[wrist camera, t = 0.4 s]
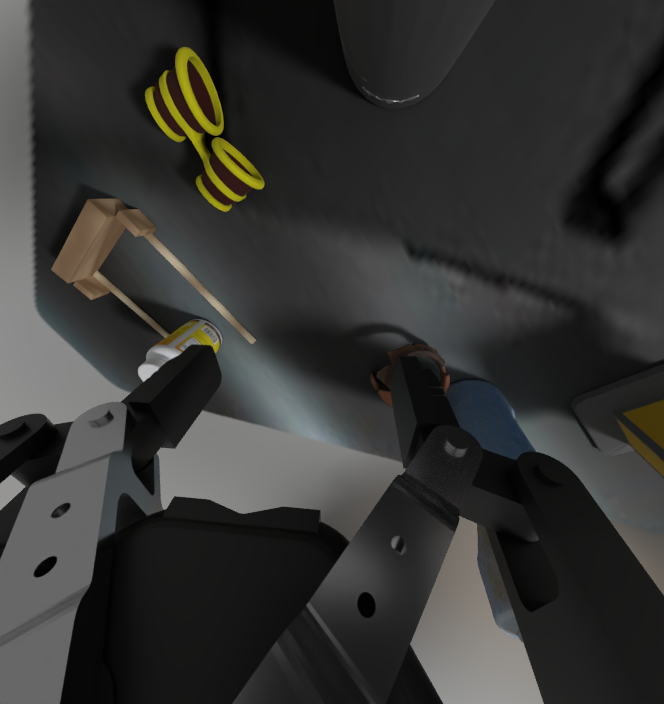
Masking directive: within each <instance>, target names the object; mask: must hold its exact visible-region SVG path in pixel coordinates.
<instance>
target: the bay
mask: <svg viewBox="0 0 664 704" xmlns="http://www.w3.org/2000/svg"><path fill="white" fill-rule="evenodd" d="M126 228H127V229H128V230H129V231H130V232H131V233H132V234H133V235H134V236H135V237H137V236H144V237H145V238H146V239H147V240H148V241H149V242H150V243H151V244H152V245H153V246H154V247H155V248H156V249H157V250H158V251H159V252H160V253H161V254H162V255H163V256H164V257H165V258H166V259H167V260H168V261H169V262H170V263H171V264H172V265H173V266H174V267H175V268H176V269H177V270H178V271H179V272H180V273H181V274H182V275H183V276H184V277H185V278H186V279H187V280H188V281H189V282H190V283H191V284H192V285H193V286H194V287H195V288H196V289H197V290H198V291H199V292H200V293H201V294H202V295H203V296H204V297H205V298H206V299H207V300H208V301H209V302H210V303H211V304H212V305H213V306H214V307H215V308H216V309H217V310H218V311H219V312H220V313H221V314H222V315H223V316H224V317H225V318H226V319H227V320H228V321H229V322H230V323H231V324H232V325H233V326H234V327H235V328H236V329H237V330H238V331H239V332H240V333H241V334H242V335H243V336H244V337H245V338H246V339H247V340H248V341H249V342H250V343H251V344H253V343H254V342H255V341H256V339H255V338H254V337H253V336H252V335H251V334H250V333H249V332H248V331H247V330H246V329H245V328H244V327H243V326H242V325H241V324H240V323H239V322H238V321H237V320H236V319H235V318H234V317H233V316H232V315H231V314H230V313H229V312H228V311H227V310H226V308H225V307H224V306H223V305H222V304H221V303H220V302H219V301H218V300H217V299H216V298H215V297H214V296H213V295H212V294H211V293H210V292H209V291H208V290H207V289H206V288H205V287H204V286H203V285H202V284H201V283H200V282H199V281H198V280H197V279H196V278H195V277H194V276H193V275H192V274H191V273H190V272H189V271H188V269H187V268H186V267H185V266H184V265H183V264H182V263H181V262H180V261H179V260H178V259H177V258H176V257H175V256H174V255H173V254H172V253H171V252H170V251H169V250H168V249H167V248H166V247H165V246H164V245H163V244H162V243H161V242H160V241H159V240H158V239H157V238H156V237H155V236H154V235H153V233H154V231H155V230H156V227H155V226H154V225H153V224H152V223H151V222H150V221H149V220H148V218H147V217H146V216H145V215H144V214H143V213H142V212H141V211H140V210H139V209H130V210H129V209H128V208H127V207H126V206H125V205H124V204H123V203H122V202H121V201H120V200H119V199H118V198H117V199H88V200H87V202H86V204H85V206H84V208H83V210H82V211H81V213H80V215H79V217H78V219H77V221H76V223H75V225H74V227H73V229H72V231H71V233H70V235H69V236H68V238H67V240H66V242H65V244H64V246H63V248H62V250H61V252H60V254H59V256H58V258H57V260H56V261H55V263H54V265H53V267H52V269H51V270H52V271H53V272H55V273H56V274H57V275H58V276H60V277H61V278H62V279H63V280H64V281H66V282H67V283H70V282H74V281H76V282H75V283H74V286H75V287H76V288H77V289H79V290H80V291H81V292H82V293H83V294H85V295H86V296H87V297H88V298H89V299H91V300H93V299H95V298H98V297H100V296H103V295H106V294H108V293H109V292H110V291H111V292H112V293H114V294H115V295H116V296H117V297H118V298H119V299H120V300H122V301H123V302H124V303H125V304H126V305H127V306H129V307H130V308H131V309H132V310H133V311H134V312H136V313H137V314H138V315H139V316H140V317H141V318H143V319H144V320H145V321H146V322H147V323H148V324H150V325H151V326H152V327H153V328H154V329H155V330H156V331H158V332H159V333H160V334H161V335H162V336H163V337H165V338H166V337H168V336H169V335H170V334H169V333H168V332H167V331H165V330H164V329H163V328H162V327H161V326H160V325H159V324H157V323H156V322H155V321H154V320H153V319H152V318H151V317H149V316H148V315H147V314H146V313H145V312H144V311H143V310H141V309H140V308H139V307H138V306H137V305H136V304H135V303H133V302H132V301H131V300H130V299H129V298H128V297H127V296H126V295H124V294H123V293H122V292H121V291H120V290H119V289H118V288H116V287H115V286H114V285H113V284H112V283H111V282H110V281H108V280H107V279H106V278H105V277H104V276H103V275H102V274H100V273H99V272H98V270H99V268H100V266H101V265H102V263H103V262H104V260H105V259H106V257H107V256H108V254H109V253H110V251H111V250H112V248H113V247H114V245H115V244H116V242H117V241H118V239H119V238H120V236H121V235H122V233H123V232H124V230H125V229H126Z"/></svg>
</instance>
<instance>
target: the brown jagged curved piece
mask: <svg viewBox="0 0 664 704" xmlns="http://www.w3.org/2000/svg"><path fill="white" fill-rule="evenodd" d="M387 354H388V356H389V358H390V360H391V363H392V365H391V366H386V367H384V368H383V369H382V370H379V371H378V372H377V379H379V380H381V381H382V383H383V384H385V385H386V386H387V387H388V388H389V389H390V390H387V389H384V388H382V387H380V386H379V385H378V383H377V382H376V380H375V377H374V375H373V373H371V374H370V376H371V382H372V384H373V386H374V388H375V389H376V391H377V394H378V395H379V397H380V398H381V399H382V400H383V401H384V402H386V403H387V404H389V405H390V406H392V407H393V405H392V399H391V384H392V378H393V373H394V368H395V362H396V358H397V356H398V355H403V356H416V357H427V358H430V359H432V360H433V361H434V362H435V363H436V364H437V365H438V366H439V368H440V371H441V382H440V383H441V385H442V389H443V390H444V392H445V394H446V393H447V390H448V388H449V384H450V375H449V374H447V373H446V371H445V365H444V364H445V361H444V359H443V358H441V356H440V355H439V354H438V352H437V350H435V349H434V348H432V347H430V346H427V345H424V344H418V343H414V344H413V345H410V344H408V345H405V346H403V347H402V348H400V349H397V350H394V351H389V352H387Z"/></svg>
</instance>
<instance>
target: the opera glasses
mask: <svg viewBox="0 0 664 704" xmlns="http://www.w3.org/2000/svg"><path fill="white" fill-rule="evenodd" d="M145 98H146V102H147V105H148V108H149V110H150V112H151V114H152V116H153V118H154V119H155V121H156V122H157V124H158V125H159V127H160V128H161V129H162V130H163V131H164V132H165V134H167V135H168V136H169V137H170V138H171V139H173V140H174V141H176V142H181V141H183V140H185V139H186V137H187V138H190V140H191V141H192V143H193V144H194V146H195V148H196V149H197V151H198V153H199V154H200V156H201V158H202V161H203V163H204V167H205V169H203V170H202V174H201V175H199V176H198V177H197V179H196V185H197V187H198V189H199V191H200V192H201V193H202V195H203V196H204V197H205V198H206V199H207V200H208V201H209V202H210V203H211V204H212V205H213V206H215V207H216V208H218V209H219V210H221V211H225V212H226V211H229V210H230V209H231V207H232V205H234V204H235V203H236V201H237V202H239V201H241V200H243V199H244V198H245V197H246V194H247V193H249V192H250V191H252V190H253V189H262V188H263V187H264V180H263V178H262V177H261V175H260V174H259V172H258V171H257V170H256V169H255V167H254V166H253V165H252V164H251V163H250V162H249V161H248V160H247V159H246V158H245V157H244V156H243V155H242V154H241V153H240V152H239V151H238V150H237V149H236V148H234V147H233V146H232V145H231V144H229V143H228V142H227V141H225V140H224V139H222V138H219V137H216V138H214V139H213V140H212V148H213V152H212V154H211V153H210V152H209V151H208V149H207V147H206V145H205V142H204V137H205V133H206V132H208V133H209V134H211V135H214V136H217V135H220V134H221V133H222V131H223V126H224V120H223V113H222V108H221V104H220V101H219V98H218V95H217V92H216V89H215V87H214V84H213V82H212V79H211V77H210V75H209V73H208V71H207V70H206V68H205V66H204V64H203V63H202V61H201V60H200V58H199V57H198V56H197V55H196V53H195V52H194V51H192V50H191V49H190V48H187V47H182V48H180V49H179V50H178V52H177V53H176V58H175V66H174V67H173V69H172V70H171V71H169V70H166V71H165V72H164V73H163V74H162V76H161V77H160V79H159V82H157V83H156V84H155V87H154V86H152V87H149V88H148V89H147V90H146V91H145ZM213 107H214V108H213Z"/></svg>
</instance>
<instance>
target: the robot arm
mask: <svg viewBox="0 0 664 704" xmlns="http://www.w3.org/2000/svg"><path fill="white" fill-rule="evenodd" d="M494 1H495V0H333V2H334V7H335V12H336V17H337V23H338V28H339V33H340V38H341V43H342V48H343V53H344V58H345V62H346V65H347V68H348V71H349V74H350V76H351V78H352V80H353V82H354V84H355V85H356V87H357V89H358V90H359V91H360V92H361V93H362V95H363V96H364V97H365V98H366V99H367V100H369V101H370V102H372V103H373V104H375V105H376V106H380V107H383V108H386V109H401V108H405V107H408V106H412V105H413V104H415V103H417V102H419V101H421V100H423V99H424V98H425V97H426V96H428V95H429V94H430V93H431V92H432V91H433V90H435V89H436V87H437V86H438V85H439V84H440V83H441V81H442V80H443V79H444V78H445V77H446V75H447V74H448V72H449V71H450V69H451V68H452V66H453V65H454V63H455V61H456V60H457V58H458V57H459V55H460V54H461V52H462V51H463V49H464V48H465V46H466V45H467V43H468V42H469V40H470V39H471V37H472V35H473V34H474V32H475V31H476V29H477V28H478V26H479V25H480V23H481V21H482V20H483V18H484V17H485V15H486V14H487V12H488V11H489V9H490V7H491V6H492V4H493V3H494ZM220 383H221V371H220V368H219V365H218V361H217V358H216V355H215V352H214V349H213V347H212V346H211V345H199V344H192V345H190V346H189V347H187V348H186V349H185V350H184V351H183V352H182V353H181V354H180V355H178V356H176V357H174V358H172V359H170V360H169V361H167V362H166V363H165V364H163V365H162V366H161V367H160V368H159V369H158V371H155V372H154V373H153V374H152V375H151V377H150V378H147V379H146V380H145V381H144V382H143V383H142V384H141V385H140V386H138V387H137V388H136V389H135V390H134V391H133V392H132V393H130V394H129V395H128V396H127V397H126V398H125V399H124V400H123V401H121V402H111V403H105V404H102V405H99V406H97V407H94V408H92V409H90V410H88V411H86V412H85V413H83V414H82V415H80V416H79V417H78V418H77V419H76V420H75V421H73V422H67V423H61V424H55V425H53V424H52V423H51V422H50V421H49V420H48V418H47V417H46V416H45V415H42V414H29V415H25V416H21V417H18V418H15V419H12V420H10V421H8V422H6V423H4V424H1V425H0V483H1V482H2V481H3V480H5V479H6V478H7V477H8V476H9V475H12V476H13V477H15V478H16V479H17V480H18V481H20V482H21V483H22V484H23V485H25V486H26V487H25V488H24V489H23V490H22V491H21V492H20V493H19V494H18V495H17V496H15V497H14V498H13V499H12V500H11V501H10V502H9V503H8V504H7V505H6V506H5V507H4V508H3V509H2V510H0V704H443V703H442V701H441V699H440V697H439V696H438V694H437V692H436V690H435V688H434V686H433V685H432V683H431V681H430V679H429V678H428V676H427V674H426V672H425V671H424V669H423V667H422V665H421V663H420V661H419V660H418V658H417V656H416V655H415V653H414V651H413V649H412V647H411V645H410V642H411V640H412V638H413V635H414V633H415V630H416V628H417V625H418V623H419V620H420V618H421V615H422V613H423V610H424V608H425V605H426V603H427V600H428V598H429V595H430V593H431V590H432V588H433V586H434V583H435V581H436V578H437V575H438V573H439V571H440V568H441V566H442V563H443V561H444V558H445V556H446V553H447V551H448V548H449V546H450V543H451V541H452V539H453V536H454V534H455V531H456V528H457V526H458V523H459V516H461V517H463V518H466V519H468V520H471V521H473V522H475V523H477V524H480V525H482V526H484V527H485V529H486V532H487V535H488V538H489V541H490V544H491V547H492V550H493V553H494V556H495V559H496V562H497V565H498V568H499V571H500V574H501V577H502V580H503V583H504V585H505V588H506V591H507V594H508V597H509V600H510V603H511V606H512V609H513V612H514V615H515V618H516V621H517V624H518V627H519V630H520V633H521V636H522V639H523V642H524V645H525V648H526V651H527V654H528V657H529V660H530V663H531V666H532V669H533V672H534V675H535V678H536V681H537V684H538V687H539V690H540V693H541V696H542V699H543V702H544V704H664V595H663V594H662V593H661V591H660V590H659V588H658V587H657V586H656V584H655V583H654V582H653V580H652V579H651V578H650V576H649V575H648V573H647V572H646V571H645V569H644V568H643V566H642V565H641V564H640V563H639V561H638V559H637V558H636V557H635V555H634V554H633V553H632V551H631V550H630V548H629V547H628V546H627V544H626V543H625V542H624V540H623V539H622V537H621V536H620V535H619V533H618V532H617V531H616V529H615V528H614V526H613V525H612V524H611V522H610V521H609V519H608V518H607V517H606V515H605V514H604V512H603V511H602V510H601V508H600V507H599V506H598V504H597V503H596V501H595V500H594V499H593V497H592V496H591V495H590V493H589V492H588V490H587V489H586V488H585V486H584V485H583V483H582V482H581V481H580V479H579V478H578V477H577V476H576V475H575V474H574V473H573V472H572V471H571V470H570V469H569V468H568V467H567V466H565V465H564V464H563V463H561V462H560V461H558V460H556V459H554V458H552V457H550V456H548V455H545V454H542V453H539V452H524V453H522V454H521V455H520V456H519V457H518V458H517V460H515V459H512V458H509V457H506V456H502V455H499V454H496V453H493V452H491V451H488V450H486V449H483V448H482V447H481V445H480V444H479V442H478V441H477V440H476V438H475V437H474V436H472V435H471V434H470V433H469V432H467V431H465V430H464V429H462V428H461V427H460V425H459V423H458V421H457V419H456V416H455V414H454V412H453V410H452V407H451V405H450V403H449V401H448V399H447V397H446V394H445V392H444V390H443V389H442V385H441V383H440V381H439V379H438V377H437V376H436V375H435V374H434V373H433V372H432V371H431V370H430V369H421V366H420V364H419V361H418V358H417V357H416V356H403V355H398V356H397V358H396V362H395V368H394V373H393V378H392V384H391V399H392V405H393V410H394V416H395V422H396V428H397V433H398V439H399V445H400V451H401V456H402V462H403V468H407V469H406V471H405V472H404V473H403V474H402V475H398V476H397V477H396V478H395V479H394V480H393V482H392V483H391V484H390V486H389V487H388V489H387V490H386V492H385V493H384V495H383V496H382V497H381V499H380V500H379V502H378V503H377V504H376V506H375V507H374V509H373V510H372V512H371V513H370V515H369V516H368V518H367V519H366V520H365V522H364V523H363V525H362V526H361V527H360V529H359V530H358V532H357V533H356V535H355V536H354V538H353V539H352V541H351V542H349V541H348V540H347V539H346V538H345V537H344V536H343V535H342V534H341V533H339V532H338V531H337V530H335V529H334V528H332V527H331V526H329V525H327V524H325V523H322V522H321V516H320V510H313V509H312V510H311V509H302V508H291V507H279V508H274V509H269V510H263V511H258V512H252V513H247V514H240V513H237V512H235V511H233V510H231V509H228V508H226V507H224V506H222V505H220V504H217V503H215V502H213V501H211V500H207V499H196V498H186V497H174V498H173V500H172V501H171V503H170V505H169V506H168V508H167V509H166V510H163V508H162V504H161V495H160V470H159V457H158V455H157V451H158V450H159V449H160V447H162V448H174V449H175V447H176V446H177V445H178V443H179V442H180V440H181V439H182V438H183V436H184V435H185V434H186V432H187V431H188V429H189V428H190V427H191V425H192V424H193V422H194V421H195V420H196V418H197V417H198V415H199V414H200V413H201V411H202V410H203V408H204V407H205V406H206V404H207V403H208V401H209V400H210V399H211V397H212V396H213V394H214V393H215V392H216V390H217V389H218V387H219V386H220Z"/></svg>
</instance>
